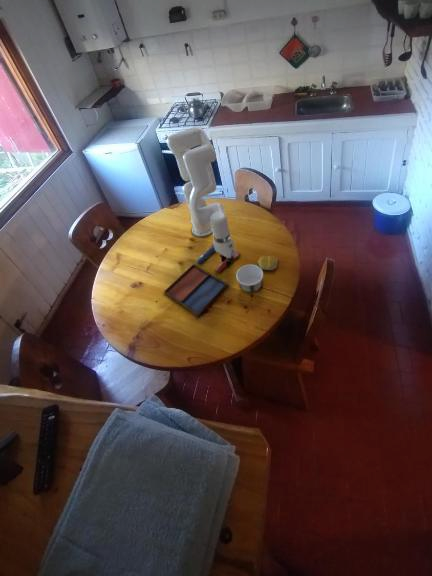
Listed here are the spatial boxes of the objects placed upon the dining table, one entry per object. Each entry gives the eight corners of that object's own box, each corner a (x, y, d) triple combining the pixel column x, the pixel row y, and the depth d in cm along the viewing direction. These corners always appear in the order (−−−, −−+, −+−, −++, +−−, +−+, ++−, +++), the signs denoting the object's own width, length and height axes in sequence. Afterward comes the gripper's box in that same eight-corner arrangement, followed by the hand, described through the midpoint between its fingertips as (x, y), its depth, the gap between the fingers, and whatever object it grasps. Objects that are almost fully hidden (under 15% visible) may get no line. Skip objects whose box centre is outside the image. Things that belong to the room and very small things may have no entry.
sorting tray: (164, 293, 162) (163, 291, 160) (194, 266, 172) (193, 263, 171) (198, 317, 149) (197, 314, 147) (228, 286, 159) (227, 283, 158)
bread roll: (259, 257, 170) (259, 251, 167) (278, 259, 167) (277, 253, 165) (257, 270, 164) (256, 264, 161) (276, 272, 161) (275, 266, 158)
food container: (268, 289, 154) (267, 279, 150) (243, 298, 153) (241, 288, 149) (258, 270, 163) (257, 261, 159) (234, 278, 162) (232, 269, 158)
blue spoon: (201, 266, 171) (200, 263, 170) (194, 263, 174) (193, 259, 172) (221, 247, 179) (221, 243, 178) (215, 244, 182) (214, 240, 180)
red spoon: (220, 275, 165) (219, 272, 163) (213, 271, 167) (212, 268, 166) (240, 254, 173) (240, 251, 171) (234, 251, 176) (233, 247, 174)
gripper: (240, 237, 156) (244, 264, 167) (214, 225, 165) (219, 251, 177) (230, 247, 152) (235, 275, 163) (203, 234, 161) (210, 261, 173)
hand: (227, 262), depth 170 cm, fingers closed on red spoon, 2 cm apart
